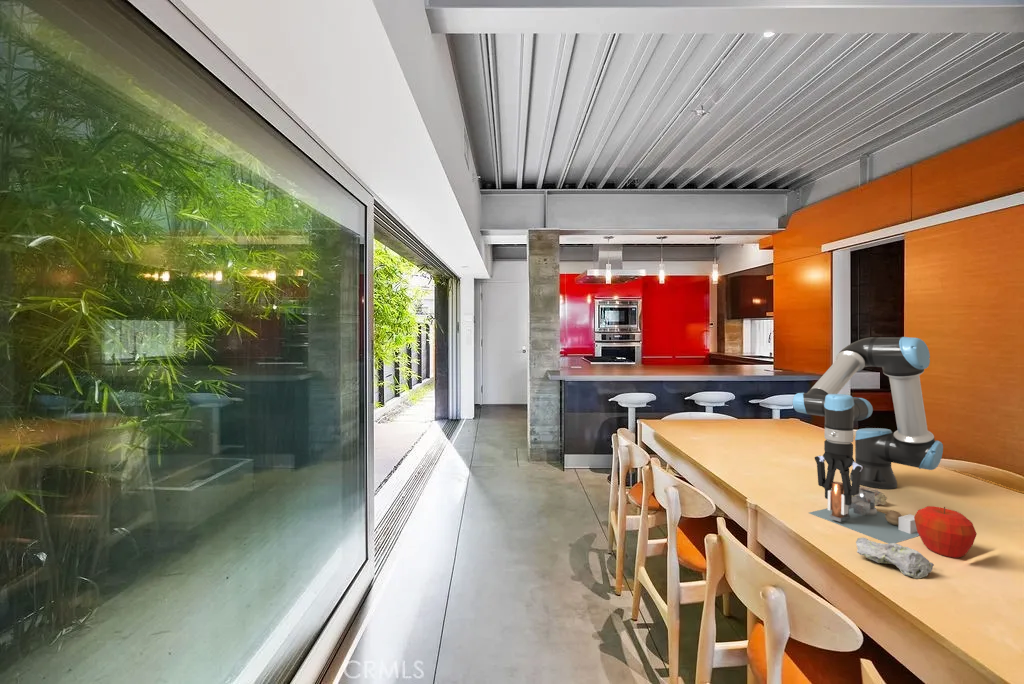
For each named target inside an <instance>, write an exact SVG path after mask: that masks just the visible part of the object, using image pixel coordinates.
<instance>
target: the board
mask: <svg viewBox="0 0 1024 684" xmlns="http://www.w3.org/2000/svg"><path fill="white" fill-rule="evenodd" d="M808 514H810V515H812V516H815V517H818V518H820V519H823V520H826V521H828V522H830V523H834V524H835V525H839V526H841V527H844V528H846V529H848V530H852V531H854V532H857V533H859V534H862V535H865V536H868V537H870V538H873V539H875V540H878V541H880V542H883V543H884V544H890V543H896V544H898V543H901V542H904V541H905V542H906V541H908V540H910V539H914V538H917V537H920V536H919V534H918V532H917V528H916V524H915V519H914V516H915V515H914V514H911V513H909V514H906V515H902V516H901V517H899V525H892V524H890V523H889V522H888V521H887V520H886V518H885V515H886V512H881V511H879V510H877V508H876V507H875V508H874V509H870V513H868V514H865V515H859V514H856V513H854V508H851V509H849V515H850V519H848V520H845V521H842V522H839V521H836V520H833V519H830V514H832V510H831V511H830V510H828V507H826V508H823V509H819V510H815V511H810V512H808Z"/></svg>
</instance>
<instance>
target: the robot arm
mask: <svg viewBox="0 0 1024 684" xmlns="http://www.w3.org/2000/svg"><path fill="white" fill-rule="evenodd" d="M835 356H836V357H835V361H834V362H833V363H832V364H831V366H830V367H829V368H828V369H827V370H826V371H825V372H824V373H823V375H822V376H821V377H820V378H819V379H818V380H817V381H816V382H815V384H814V385H813V386H812V387H811V388H810V389H809V390H808V391H807V392H798V393H795V395H794V396H793V398H792V407H793V409H794V410H795V412H797V413H801V414H805V415H812V416H819V417H824V446H823V451H824V453H823V454H822V455H817V456H815V457H814V460H815V464H816V469H817V470H816V471H817V473H816V474H817V484H818V486H819V487H822V488H823V489H824V498H825V499H826V500H827V508H828V510H830V511H831V510H832V482H835V476H836V475H835V474H836V471H837V470H838V471H839V474H840V478H841V483H843V489H844V494H842V496H841V514H842V515H846V514H848V505H851V504H852V495H853V496H854V495H857V494H859V489H860V486H863V487H868V488H873V489H882V490H883V489H884V490H893V489H897V487H898V481H897V478H896V476H895V473H894V470H893V468H892V463H894V464H898V465H903V466H908V467H913V468H917V469H920V470H921V469H923V470H928V471H933V470H935V469H937V468H938V466H939V465H940V463H941V460H942V457H943V452H944V444H943V442H942V441H939V440H935V435H934V434H933V432H931V431H930V430H928V424H927V423H928V422H927V418H926V416H927V415H926V411H925V405H924V398H923V391H922V383H921V377H920V376H921V375H923V373H924V372H925V369H926V370H927V368H929V366H930V363H931V359H930V358H931V355H930V350H929V348H928V345H927V343H926V342H925V341H924V340H923V339H922V338H918V337H908V336H899V337H896V336H893V337H892V336H891V337H889V336H888V337H887V336H886V337H884V336H883V337H881V336H880V337H879V336H878V337H872V336H871V337H865V338H861V339H859V340H856V341H854V342H851V343H850V344H848V345H847V346H845V347H844V348H842V349H841V350H840V351H839V352H838V353H837V355H835ZM867 367H873V368H874V367H875V368H882V373H883V374H884V375H885V376H887V377H888V380H889V385H890V386H889V387H890V390H891V391H890V392H891V398H892V403H893V410H894V414H895V415H894V417H895V422H896V427H897V430H895V431H894V432H893V431H892V430H891V429H888V428H883V427H882V428H881V427H880V428H879V427H877V428H876V427H874V428H873V427H865V428H859V429H857V430H856V431H855V437H854V422H856V421H857V422H859V421H863V420H866V419H868V418H869V417H871V416H872V414H873V411H874V408H873V405H872V404H871V402H870V401H869V400H867V399H865V398H863V397H853V396H852V395H850V394H843V393H840V391H841V390H842V389H844V387H845V385H847V384H848V382H849V381H850V380H851V379H852V377H853V376H854V375H855V374H856V373H858V372H860V371H862V370H864V368H867ZM853 442H855V443H854V444H853ZM854 446H855V447H854ZM854 454H855V455H854ZM854 456H855V459H854ZM825 462H826V463H827V471H826V465H825ZM851 467H852V469H851V471H850V468H851ZM851 486H852V487H851Z"/></svg>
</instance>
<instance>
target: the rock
mask: <svg viewBox="0 0 1024 684" xmlns="http://www.w3.org/2000/svg"><path fill="white" fill-rule="evenodd" d="M851 487H852V485H851ZM860 489H863V490H868V491H872V492H874V493H875V507H878V505H882V506H885V505H887V499H888V498H887V496H886V495H885V493H883V492H882V491H880V490H879V488H874V487H868V486H862V485H860ZM854 496H856V495H854ZM854 496H853V495H852V497H854Z"/></svg>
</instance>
